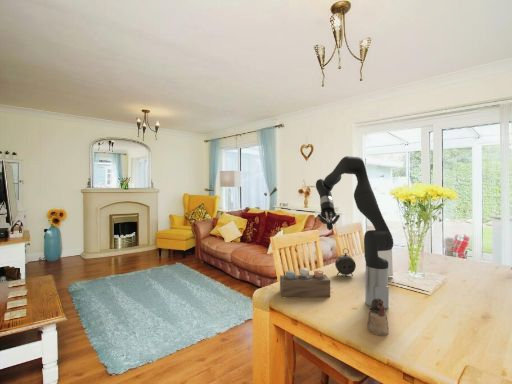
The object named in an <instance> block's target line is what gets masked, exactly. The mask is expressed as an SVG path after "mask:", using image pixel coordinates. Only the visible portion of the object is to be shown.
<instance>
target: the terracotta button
mask: <svg viewBox="0 0 512 384" xmlns="http://www.w3.org/2000/svg"><path fill="white" fill-rule="evenodd" d="M313 275H314V277H315V278H323V275H324V271H323V270H318V269H317V270H316V269H315V270H314V271H313Z"/></svg>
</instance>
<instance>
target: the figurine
mask: <svg viewBox="0 0 512 384" xmlns="http://www.w3.org/2000/svg"><path fill="white" fill-rule="evenodd" d="M368 309H369V312H368V317H367V323H366V329H367V330H368V332H369V333H371V334H373V335H375V336H382V335H383V336H387V335H388V334H389V322H388V315H387V312H386V311H385V309H384V306H383V301H382V300H381V299H380V298H376V299H374V300H372V304H371V307H369V308H368Z"/></svg>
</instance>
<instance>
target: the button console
mask: <svg viewBox="0 0 512 384" xmlns="http://www.w3.org/2000/svg"><path fill="white" fill-rule="evenodd" d="M279 291H280V295H281V298H282V297H300V298H330V297H331V279H330V278H329V276H328V275H327V274H323V278H315V277H314V274H309V275H307V276H303V275H300V274H295V278H293V279H288V278H286V274H285V275H283V274H282V275H281V274H280V275H279Z"/></svg>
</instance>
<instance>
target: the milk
mask: <svg viewBox="0 0 512 384" xmlns="http://www.w3.org/2000/svg"><path fill="white" fill-rule="evenodd" d="M378 257H381V258H384V259H386V260H387V261H388V276H393V277H394V269H393V267H394V266H393V248H392V249H391V250H388V251H378Z"/></svg>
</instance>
